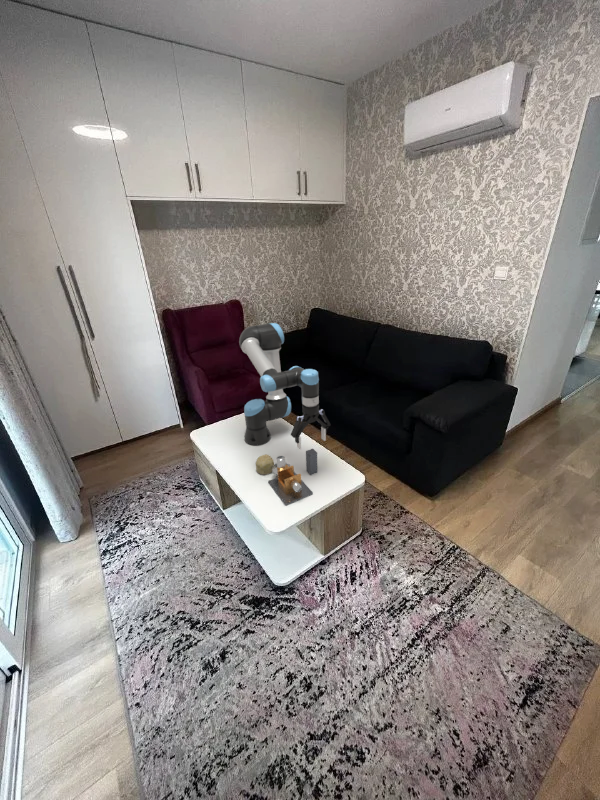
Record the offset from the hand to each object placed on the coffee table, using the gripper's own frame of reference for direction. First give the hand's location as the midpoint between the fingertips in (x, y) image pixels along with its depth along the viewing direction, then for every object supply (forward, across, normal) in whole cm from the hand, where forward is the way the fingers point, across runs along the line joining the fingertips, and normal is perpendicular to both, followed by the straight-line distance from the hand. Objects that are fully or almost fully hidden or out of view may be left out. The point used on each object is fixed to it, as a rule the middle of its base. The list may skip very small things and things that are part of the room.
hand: (311, 443), depth 156 cm
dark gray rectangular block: (+17, 0, 0) cm, 17 cm away
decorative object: (+17, -19, +14) cm, 29 cm away
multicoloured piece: (+17, -15, -3) cm, 23 cm away
